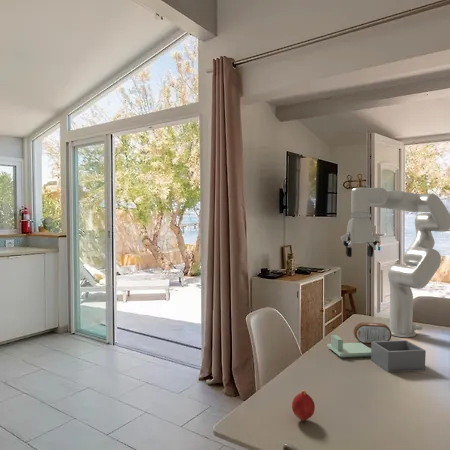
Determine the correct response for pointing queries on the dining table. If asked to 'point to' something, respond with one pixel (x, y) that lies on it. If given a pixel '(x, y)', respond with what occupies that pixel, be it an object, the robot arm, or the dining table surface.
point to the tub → (398, 356)
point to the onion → (303, 406)
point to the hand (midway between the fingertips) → (359, 256)
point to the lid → (348, 348)
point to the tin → (372, 332)
